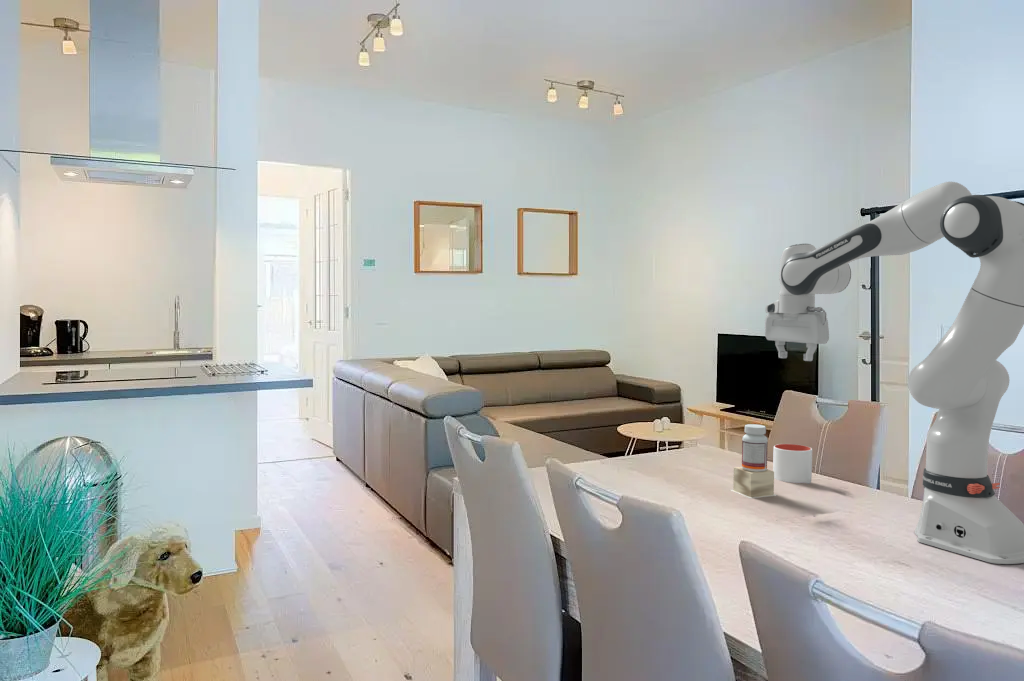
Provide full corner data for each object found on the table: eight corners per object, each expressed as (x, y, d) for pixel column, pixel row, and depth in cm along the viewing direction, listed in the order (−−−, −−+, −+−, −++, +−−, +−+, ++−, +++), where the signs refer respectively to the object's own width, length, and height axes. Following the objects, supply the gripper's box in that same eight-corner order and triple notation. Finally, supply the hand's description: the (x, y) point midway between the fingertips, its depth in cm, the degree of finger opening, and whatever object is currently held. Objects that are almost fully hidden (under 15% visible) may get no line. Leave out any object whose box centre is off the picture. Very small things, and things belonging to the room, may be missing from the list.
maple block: (773, 494, 180) (774, 471, 180) (750, 497, 178) (751, 473, 178) (755, 488, 187) (756, 465, 186) (733, 490, 184) (733, 467, 184)
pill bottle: (750, 465, 186) (751, 422, 186) (771, 470, 181) (772, 426, 181) (736, 469, 182) (737, 425, 182) (758, 473, 178) (759, 428, 177)
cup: (817, 487, 192) (818, 451, 192) (780, 487, 193) (781, 451, 192) (803, 478, 202) (803, 443, 202) (767, 478, 203) (768, 443, 202)
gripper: (836, 307, 177) (834, 362, 178) (780, 306, 197) (778, 356, 197) (815, 307, 175) (814, 362, 176) (761, 306, 195) (760, 356, 195)
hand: (795, 359), depth 187 cm, fingers open, 8 cm apart
